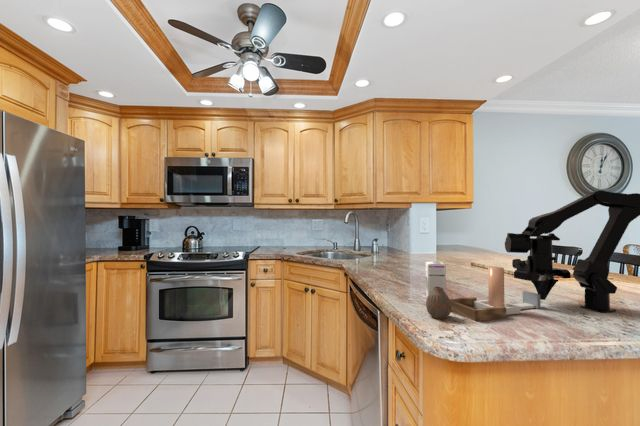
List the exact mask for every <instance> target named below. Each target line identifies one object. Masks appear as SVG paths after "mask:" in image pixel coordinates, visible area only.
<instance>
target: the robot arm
mask: <svg viewBox="0 0 640 426" xmlns="http://www.w3.org/2000/svg"><path fill="white" fill-rule="evenodd" d="M597 205H600V206H603V207H607V208H608V209H607V211H608V219H607V222H606V224H605V226H603V229H602V231H601V233H600V235H599V237H598V239H597V241H596V243H595V245H594V246H593V248H592V250H591V252H590V253H589V256H588V257H586V258H585V259H583V258H582V259H580V258H577V260H576V263H575V266H574V267H573V268H572V270H573V272H572V276H573V278H574V279H575V281H577V282H578V284H579V286H580V287H581V288H584V304H580V305H579V308H583V309H587V310H592V311H594V312H595V311H596V312H598V313H603V314H604V313H610V312H611V313H612V312H616V311H617V308H616V309H615V308H612V307H611V298H610V297H611V296H610V294H612V295H613V294H616V293H617V290H618V287H617V286H616V285H615V284H614V283H613V282H612V281H610V280H609V279H608V277H609V274H610V270H609V269H610V268H609V262H610V260H611V258H612V257H613V254H614V253H615V251H616V248H617V247H618V245H619V243H620V241H621V239H622V238H623V236H624V234H625V232H626V230H627V229H628V226H629V224H630V223H631V222H633V221H634V220H635V219H637V218H638V217H639V216H640V193H637V192H635V193H622V192H611V191H605V190H602V189H601V190H599V189H598V190H594V191H590V192H588V193H587V194H585V195H583V196H581V197H580V198H577V199H576V200H573V201H571V202H570V203H567V204H566V205H564V206H562V207H560V208H558V209H556V210H553V211H551V212H548V213H543V214H540V215H537V216H535V217H532V218H530V219H529V220H528V224H527V226H526V228H525V229H524V230H523V231H522V232H521V233H513V232H507V233H506V234H507V235H506V238H505V241H504V249H505V251H506V252H507V253H513V254H514V253H517V254H520V253H521V254H528V253H529V251H530V255H528V256H527V259H526V260H521V259H520V258H515V259H512V263H511V264H512V266H511V267H512V268H513V269H515V270H514V271H513V278H514V279H517V280H523V281H529V282H531V283H532V284H533V286H534V288H535V290H536V292H537V293H536V294H540V301H541V300H542V301H544V300H546V298H547V297H548V295H549V294H550V292H551V291H552V289H553V288H554V286H555V285H556V284H557V283H558V282H559V279H556V278H555V277H556V276H557V277H561V278H563V279H565V280H566V279H571V278H572V277H571V272H570V270H568V269H566V268H558V267H554V266H553V261H556V260H557V259H556V256H553V241H560V240H561V239H560V237H558V235H557V236H556V234H555V233H553V232H554V231H555V230H557V229H558V228H559V227H560V226H561V225H562V224H563V223H565V221H567V220H569V219H571V218H573V217H575V216H577V215H579V214H581V213H583V212H585V211H587V210H589V209H592V208H593V207H595V206H597ZM546 234H547V235H546Z"/></svg>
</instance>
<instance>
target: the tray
mask: <svg viewBox="0 0 640 426" xmlns="http://www.w3.org/2000/svg"><path fill="white" fill-rule="evenodd" d="M490 307H493V306H490V305H488V299H482V300H477V301H474V307H473V308H474V309H480V308H490ZM505 307H506V316H508V315H519V314H521V310H526V309H541V299H540V294H538V293H535V292H532V291H527V290H524V291H522V302H519V303H513V304H512V303H509V302H505Z"/></svg>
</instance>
